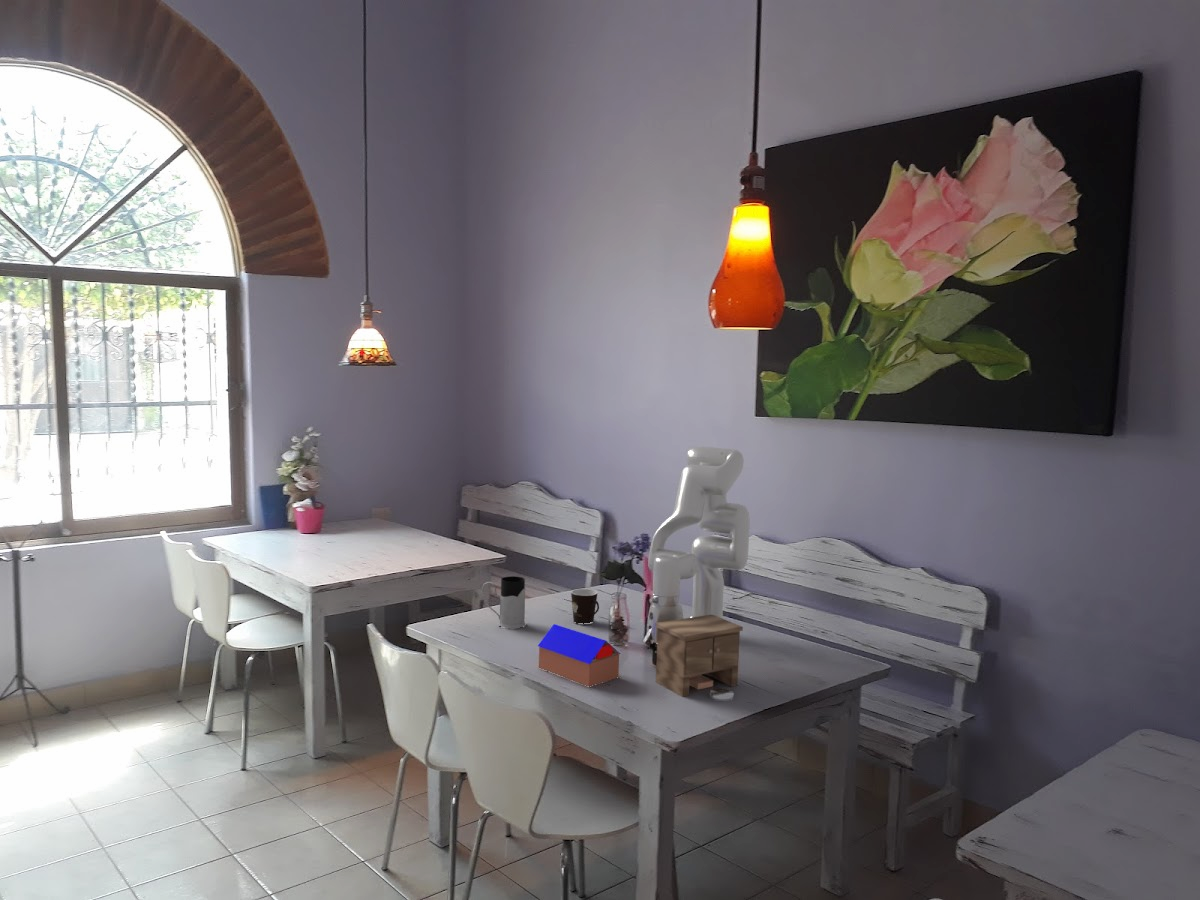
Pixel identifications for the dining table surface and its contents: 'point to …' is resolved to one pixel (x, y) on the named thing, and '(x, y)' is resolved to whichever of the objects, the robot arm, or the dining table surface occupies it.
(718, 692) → the steel disc
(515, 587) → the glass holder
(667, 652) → the cabinet
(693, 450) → the robot arm
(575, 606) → the coffee mug
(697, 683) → the tan stepped beam
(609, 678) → the house
